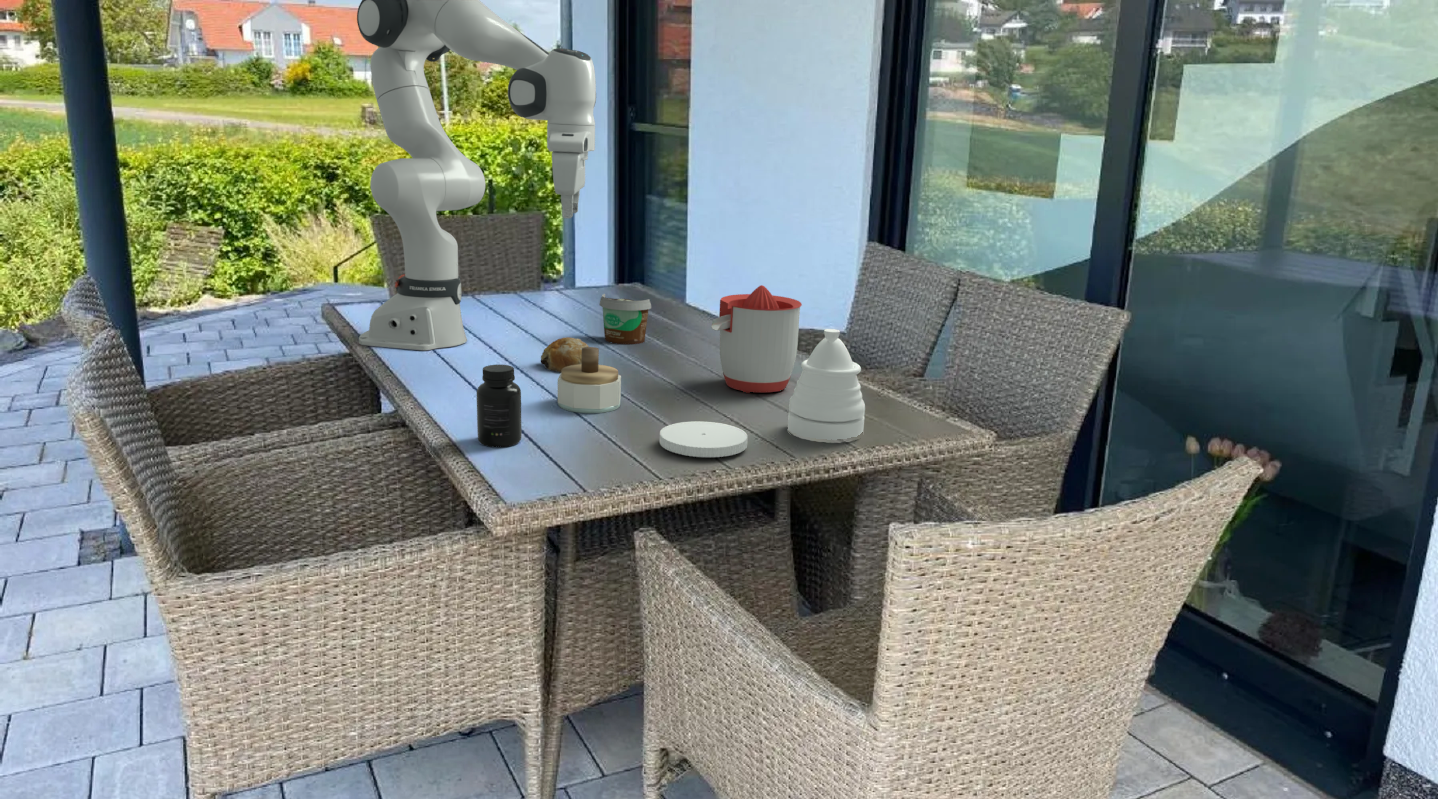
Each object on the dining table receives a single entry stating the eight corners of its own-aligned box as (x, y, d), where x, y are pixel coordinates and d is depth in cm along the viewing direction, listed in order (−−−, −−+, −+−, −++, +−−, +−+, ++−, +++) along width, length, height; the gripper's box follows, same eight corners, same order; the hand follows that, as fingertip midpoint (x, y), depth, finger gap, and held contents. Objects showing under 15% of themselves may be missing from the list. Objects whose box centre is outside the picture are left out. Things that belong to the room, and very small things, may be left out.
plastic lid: (764, 455, 171) (765, 440, 170) (690, 468, 163) (691, 453, 162) (713, 431, 182) (714, 417, 181) (642, 443, 174) (643, 428, 173)
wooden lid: (618, 385, 187) (618, 356, 186) (560, 384, 186) (560, 354, 185) (617, 371, 197) (618, 343, 195) (562, 369, 196) (562, 341, 194)
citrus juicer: (696, 379, 214) (700, 279, 208) (775, 375, 220) (781, 277, 215) (725, 400, 200) (731, 293, 194) (809, 395, 206) (817, 291, 201)
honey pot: (861, 446, 176) (870, 339, 171) (782, 439, 178) (790, 332, 173) (864, 425, 188) (873, 324, 184) (791, 418, 190) (798, 318, 186)
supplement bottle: (480, 434, 173) (479, 361, 170) (523, 435, 174) (523, 363, 170) (474, 447, 166) (473, 372, 163) (519, 448, 167) (519, 373, 164)
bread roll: (574, 392, 214) (591, 358, 212) (529, 366, 215) (546, 332, 212) (589, 380, 223) (606, 347, 221) (547, 355, 224) (563, 323, 221)
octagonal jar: (554, 412, 187) (554, 384, 186) (562, 395, 198) (562, 368, 196) (618, 414, 187) (618, 386, 186) (622, 397, 198) (622, 371, 197)
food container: (588, 341, 242) (589, 297, 239) (601, 336, 248) (602, 293, 245) (638, 348, 238) (639, 303, 235) (650, 343, 243) (651, 299, 241)
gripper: (560, 137, 210) (560, 209, 214) (547, 141, 191) (546, 220, 194) (593, 139, 211) (591, 210, 214) (582, 143, 191) (581, 221, 195)
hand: (570, 215), depth 204 cm, fingers open, 8 cm apart
